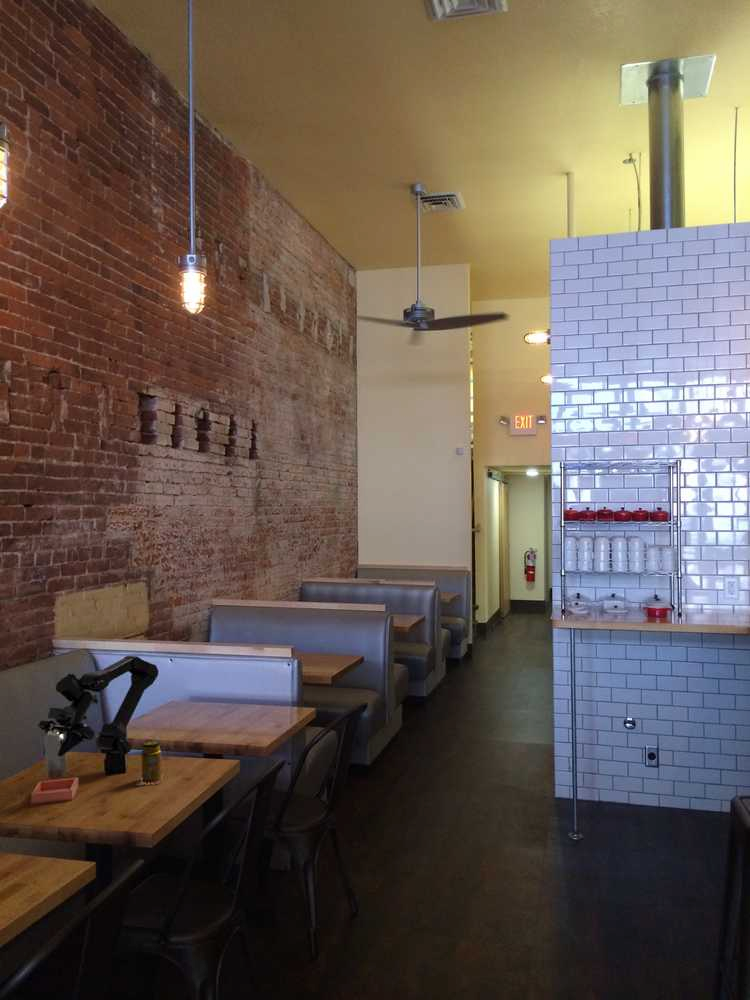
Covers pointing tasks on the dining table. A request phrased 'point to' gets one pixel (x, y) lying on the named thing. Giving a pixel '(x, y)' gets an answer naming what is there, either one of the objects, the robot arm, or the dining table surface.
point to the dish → (54, 791)
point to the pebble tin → (55, 754)
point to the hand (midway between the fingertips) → (52, 755)
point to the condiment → (151, 762)
